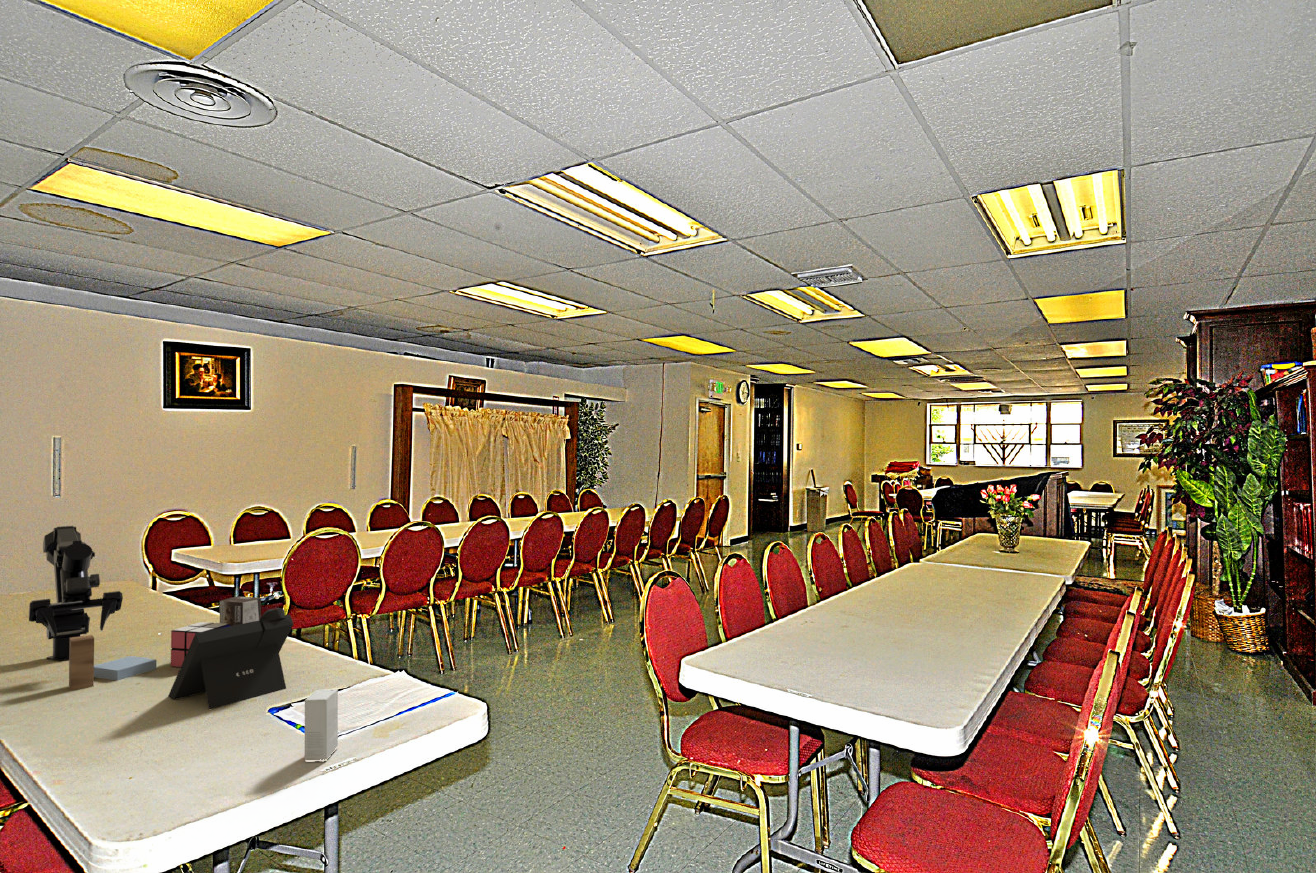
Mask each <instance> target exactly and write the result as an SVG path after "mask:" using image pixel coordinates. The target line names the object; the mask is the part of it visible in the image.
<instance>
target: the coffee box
mask: <svg viewBox="0 0 1316 873" xmlns="http://www.w3.org/2000/svg"><path fill="white" fill-rule="evenodd" d="M261 617H262V597H252V596H234V597H229V598H225V599H222V600H219V623H226V624H230V626H234V625H239V624H244V623H249V622H254V621H259V620H260V618H261Z"/></svg>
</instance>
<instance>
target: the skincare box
mask: <svg viewBox="0 0 1316 873" xmlns="http://www.w3.org/2000/svg"><path fill="white" fill-rule="evenodd" d="M338 702H339V690H338V688H327V689H325V688H321V689H316V690H315V691H313V692H312V693H311V694H310V695H309V696H307V698H306V699H305V700H304V761H305V760H320V759H321V760H323V759H324V760H325V759H327V758H328V757H329V756H330V755H331V753H332V752H333V751H334V750H335V748H336V747H337V746H338V747H339V742H338V741H339V740H338V739H339V726H338V725H339V720H338V719H339V716H338V715H339V713H338V712H339V711H338V710H339V703H338Z"/></svg>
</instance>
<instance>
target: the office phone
mask: <svg viewBox="0 0 1316 873" xmlns="http://www.w3.org/2000/svg"><path fill="white" fill-rule="evenodd" d="M293 626H294V621H293V619H292V616H291V615H290V614H286V612H285V610H284V608H279V607H273V608H270V609H267V610H266V611H265V612H264V613H263V614H261V618H260V620H259V621H254V622H249V623H244V624H239V625H234V626H229V627H223V628H218V629H213V630H208V631H203V632H198V633H195V636H194V638H193V640H192V643H191V645H190V647H189V649H188V652H187V654H186V656H185V659H184V661H183V663H182V665H181V668H180V667H179V670H178V673H177V674H176V678H175V679H174V682H173V683H172V686H171V689H170V690H169V693H168V695H167V697H168V698H169V699H172V700H173V701H175V700H179V699H183V698H187V697H191V696H194V695H198V694H202V693H205V694H206V700H207V705H208V710H209V709H211V710H214V709H218V708H221V707H224V706H225V707H226V706H228V705H233V704H236V703H239V702H242V701H247V700H250V699H254V698H257V697H260V696H264V695H265V696H266V695H269V694H272V693H276V692H280V691H283V690H287V685H286V680H285V676H284V672H283V667H282V661H281V656H280V651H281V649H282V648H283V646H284V644H285V643H286V640H287V638H288V636H289V634H290V632H291V630H292V629H293Z"/></svg>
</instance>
